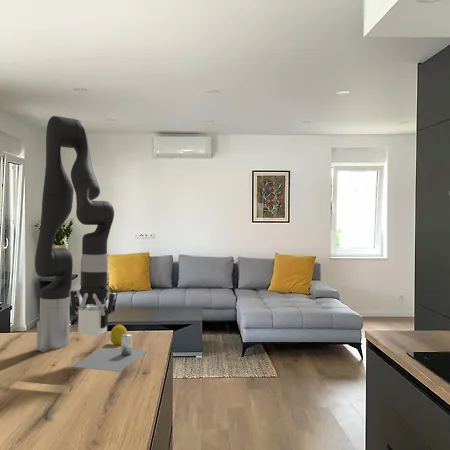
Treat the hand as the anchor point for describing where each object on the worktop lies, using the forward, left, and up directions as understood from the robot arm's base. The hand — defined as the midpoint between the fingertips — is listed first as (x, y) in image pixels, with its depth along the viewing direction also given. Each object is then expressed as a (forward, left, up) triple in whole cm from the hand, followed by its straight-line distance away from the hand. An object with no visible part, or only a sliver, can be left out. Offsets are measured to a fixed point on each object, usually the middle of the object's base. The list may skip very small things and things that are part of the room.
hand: (92, 326), depth 146 cm
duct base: (+4, +5, -12) cm, 13 cm away
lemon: (-2, +22, -12) cm, 25 cm away
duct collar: (0, 0, -2) cm, 2 cm away
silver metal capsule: (+6, +10, -10) cm, 16 cm away
